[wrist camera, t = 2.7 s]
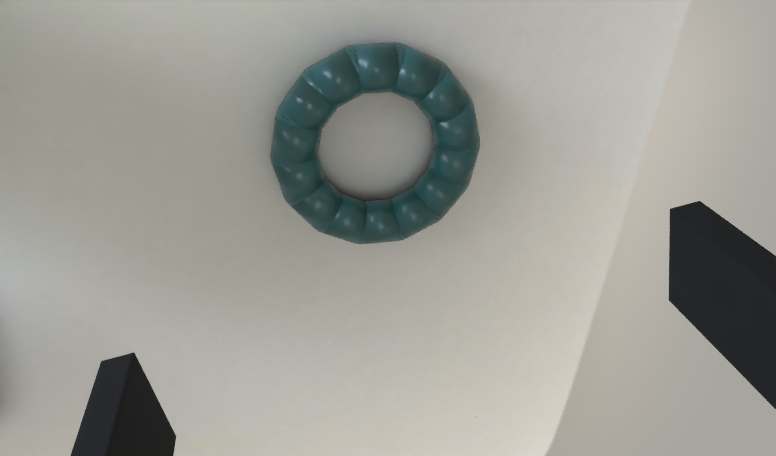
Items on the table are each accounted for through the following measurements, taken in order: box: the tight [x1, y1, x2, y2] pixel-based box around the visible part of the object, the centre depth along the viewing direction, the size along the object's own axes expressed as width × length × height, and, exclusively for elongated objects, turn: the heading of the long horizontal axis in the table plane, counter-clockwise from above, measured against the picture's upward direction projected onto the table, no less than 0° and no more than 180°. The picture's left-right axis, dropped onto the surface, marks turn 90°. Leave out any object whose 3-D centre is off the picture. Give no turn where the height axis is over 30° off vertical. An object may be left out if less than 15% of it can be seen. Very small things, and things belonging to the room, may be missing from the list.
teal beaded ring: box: [270, 43, 480, 244], centre depth 30 cm, size 9×9×2 cm
